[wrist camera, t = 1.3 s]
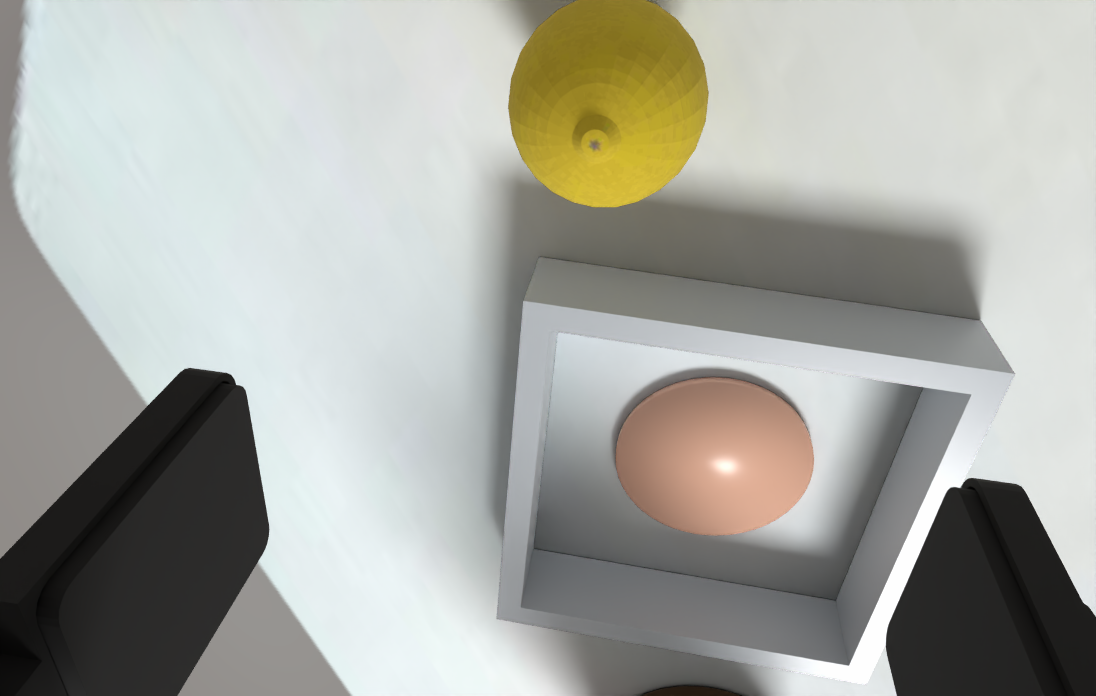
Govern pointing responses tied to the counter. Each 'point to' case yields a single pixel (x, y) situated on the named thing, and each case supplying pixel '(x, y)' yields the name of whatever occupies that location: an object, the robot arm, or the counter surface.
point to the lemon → (608, 101)
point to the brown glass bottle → (689, 691)
